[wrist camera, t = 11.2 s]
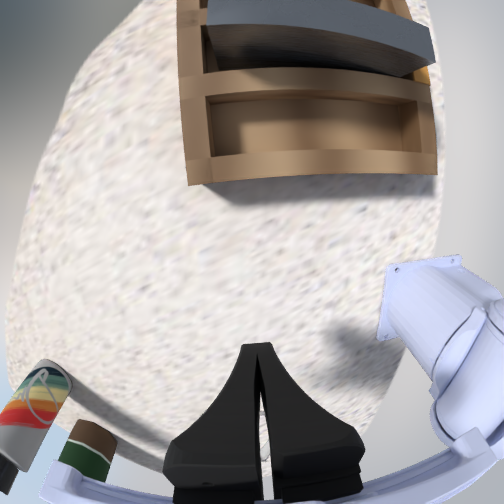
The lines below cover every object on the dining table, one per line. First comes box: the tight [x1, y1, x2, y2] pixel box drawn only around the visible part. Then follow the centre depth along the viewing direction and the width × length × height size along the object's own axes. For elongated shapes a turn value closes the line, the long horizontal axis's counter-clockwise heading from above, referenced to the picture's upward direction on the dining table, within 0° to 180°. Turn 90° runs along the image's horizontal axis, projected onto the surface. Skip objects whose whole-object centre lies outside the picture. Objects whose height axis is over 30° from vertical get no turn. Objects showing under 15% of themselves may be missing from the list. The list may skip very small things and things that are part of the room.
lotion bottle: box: [0, 359, 72, 495], centre depth 16 cm, size 6×6×20 cm
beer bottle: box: [58, 419, 117, 483], centre depth 18 cm, size 8×8×24 cm
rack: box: [177, 0, 437, 186], centre depth 14 cm, size 17×17×4 cm
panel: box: [206, 0, 436, 78], centre depth 12 cm, size 12×2×7 cm, turn 90°
